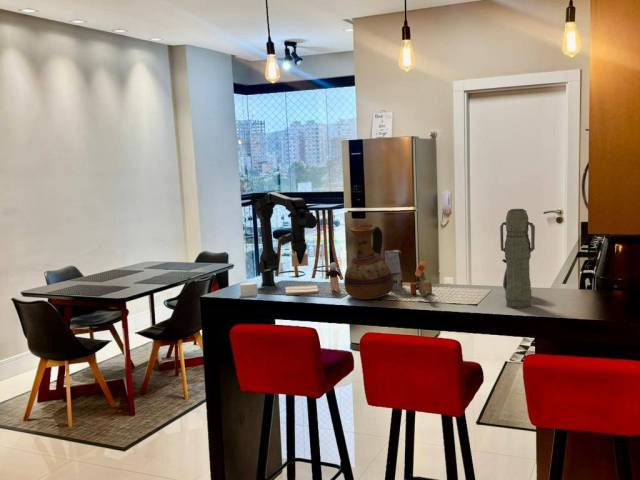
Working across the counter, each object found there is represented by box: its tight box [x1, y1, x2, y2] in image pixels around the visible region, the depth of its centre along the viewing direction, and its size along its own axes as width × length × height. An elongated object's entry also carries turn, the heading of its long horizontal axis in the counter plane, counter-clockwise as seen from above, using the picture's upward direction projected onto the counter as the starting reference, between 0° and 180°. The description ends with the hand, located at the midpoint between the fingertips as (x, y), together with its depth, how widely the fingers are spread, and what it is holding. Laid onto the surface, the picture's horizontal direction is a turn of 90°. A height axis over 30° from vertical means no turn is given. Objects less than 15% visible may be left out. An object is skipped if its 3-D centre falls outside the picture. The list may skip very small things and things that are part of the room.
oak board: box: [285, 284, 319, 296], centre depth 274 cm, size 14×14×1 cm
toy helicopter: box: [409, 260, 433, 298], centre depth 247 cm, size 8×21×14 cm, turn 1°
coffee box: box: [384, 249, 404, 291], centre depth 268 cm, size 9×6×16 cm
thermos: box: [499, 208, 536, 309], centre depth 223 cm, size 9×12×35 cm
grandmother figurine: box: [324, 261, 343, 293], centre depth 269 cm, size 8×4×13 cm, turn 84°
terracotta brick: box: [290, 252, 309, 268], centre depth 272 cm, size 4×7×5 cm, turn 94°
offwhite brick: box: [239, 281, 258, 297], centre depth 272 cm, size 4×7×5 cm, turn 94°
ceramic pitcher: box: [343, 223, 393, 300], centre depth 253 cm, size 20×20×30 cm
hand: (299, 262), depth 272 cm, fingers closed on terracotta brick, 4 cm apart
